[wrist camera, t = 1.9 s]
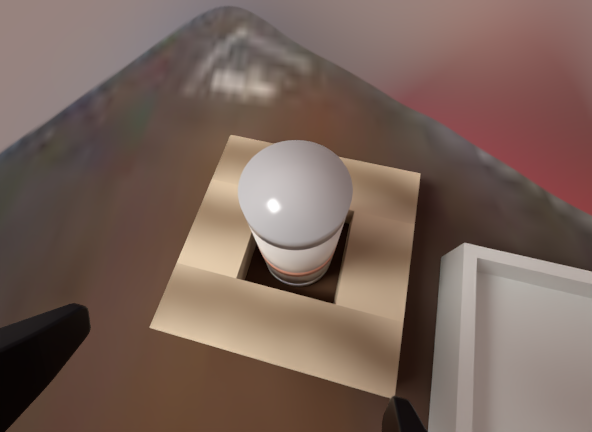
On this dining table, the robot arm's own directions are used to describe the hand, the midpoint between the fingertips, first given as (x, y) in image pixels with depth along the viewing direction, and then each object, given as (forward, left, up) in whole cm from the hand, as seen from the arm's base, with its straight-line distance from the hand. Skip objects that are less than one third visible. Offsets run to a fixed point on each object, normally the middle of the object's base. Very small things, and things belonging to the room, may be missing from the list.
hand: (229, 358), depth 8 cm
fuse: (+7, +2, -13) cm, 15 cm away
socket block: (+7, +2, -13) cm, 15 cm away
